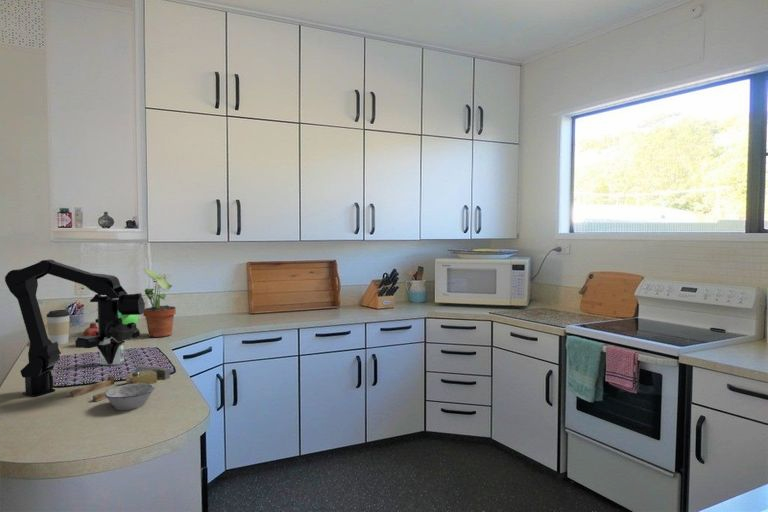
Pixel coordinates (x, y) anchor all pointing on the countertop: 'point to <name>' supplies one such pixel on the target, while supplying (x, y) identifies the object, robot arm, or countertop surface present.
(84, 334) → the fruit
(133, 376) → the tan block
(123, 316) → the toy bird
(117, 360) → the ink box
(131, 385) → the bowl
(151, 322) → the potted plant
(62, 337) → the coffee cup
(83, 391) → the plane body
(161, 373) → the bench stop
